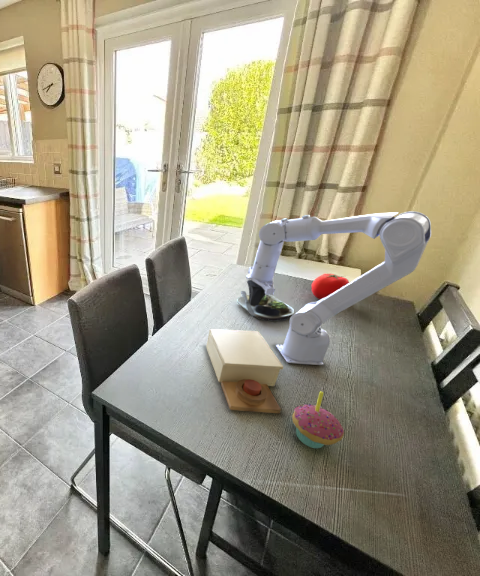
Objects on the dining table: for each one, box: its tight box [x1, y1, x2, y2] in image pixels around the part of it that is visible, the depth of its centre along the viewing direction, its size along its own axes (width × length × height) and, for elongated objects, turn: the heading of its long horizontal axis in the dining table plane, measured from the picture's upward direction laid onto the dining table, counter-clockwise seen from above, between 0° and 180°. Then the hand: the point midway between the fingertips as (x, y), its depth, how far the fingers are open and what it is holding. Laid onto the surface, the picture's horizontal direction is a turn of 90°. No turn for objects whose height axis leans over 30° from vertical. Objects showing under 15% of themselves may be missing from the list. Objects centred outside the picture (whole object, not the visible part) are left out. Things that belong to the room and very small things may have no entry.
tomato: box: [311, 273, 350, 300], centre depth 115 cm, size 11×13×10 cm
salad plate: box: [236, 290, 296, 322], centre depth 111 cm, size 19×18×5 cm
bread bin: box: [205, 331, 281, 387], centre depth 82 cm, size 15×14×6 cm
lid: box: [208, 328, 284, 370], centre depth 80 cm, size 16×14×1 cm
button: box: [243, 379, 261, 396], centre depth 72 cm, size 4×4×2 cm
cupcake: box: [291, 387, 345, 449], centre depth 61 cm, size 9×8×12 cm
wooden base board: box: [220, 379, 282, 414], centre depth 73 cm, size 11×8×3 cm
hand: (253, 304), depth 93 cm, fingers closed
